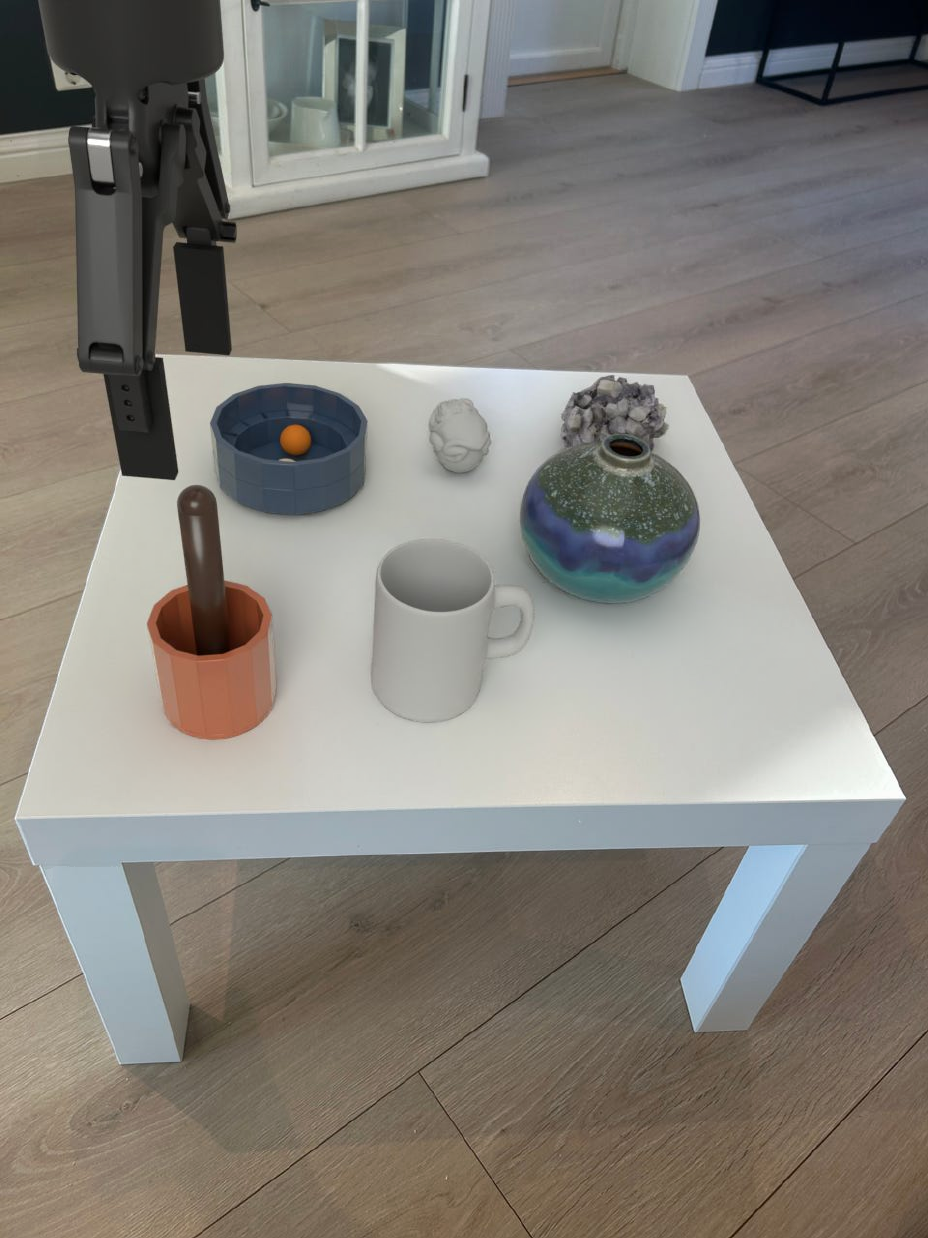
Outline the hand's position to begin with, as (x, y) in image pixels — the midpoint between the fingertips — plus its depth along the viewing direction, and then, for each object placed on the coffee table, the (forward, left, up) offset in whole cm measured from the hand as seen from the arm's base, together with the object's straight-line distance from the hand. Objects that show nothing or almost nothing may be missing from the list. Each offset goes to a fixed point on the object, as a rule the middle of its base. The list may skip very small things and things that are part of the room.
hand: (182, 407), depth 55 cm
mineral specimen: (+33, +40, -25) cm, 58 cm away
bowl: (+1, +30, -25) cm, 39 cm away
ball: (+1, +33, -23) cm, 40 cm away
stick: (0, 0, -24) cm, 24 cm away
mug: (+17, +4, -25) cm, 31 cm away
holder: (0, 0, -25) cm, 25 cm away
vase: (+30, +19, -25) cm, 43 cm away
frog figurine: (+17, +34, -25) cm, 45 cm away
